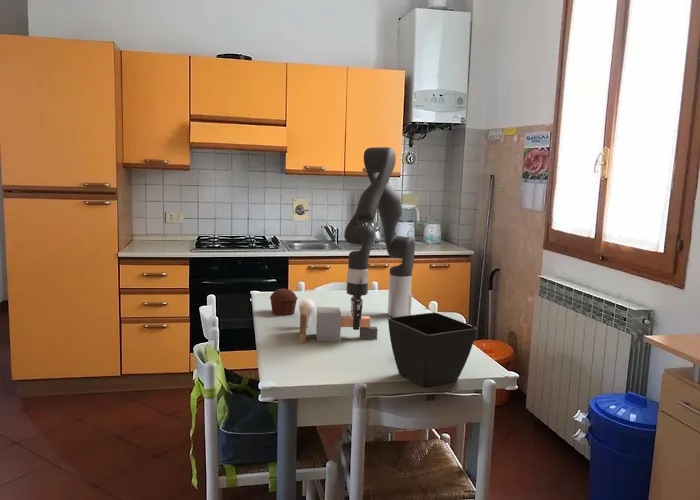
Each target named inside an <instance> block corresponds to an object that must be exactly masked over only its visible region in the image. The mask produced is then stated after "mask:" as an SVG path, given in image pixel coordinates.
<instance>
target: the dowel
mask: <svg viewBox="0 0 700 500" xmlns="http://www.w3.org/2000/svg"><path fill="white" fill-rule="evenodd" d="M360 327H371V317H370V316H367V315H365V316H364V315H361V319H360V325H359V328H360ZM341 328H353V316H352V315H341Z"/></svg>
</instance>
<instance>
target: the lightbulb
mask: <svg viewBox="0 0 700 500" xmlns="http://www.w3.org/2000/svg"><path fill="white" fill-rule="evenodd" d="M300 305H306V311H307V322H306V328H308V327H310V325H311V324H310V323H311V319H312V315H313V313H314V312H315V309H316V303H315V302H314V301H313V300H312V299H310V298H303V299H302V300H301V301H299V303H298V310H299V311H300Z"/></svg>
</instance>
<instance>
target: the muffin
mask: <svg viewBox="0 0 700 500" xmlns="http://www.w3.org/2000/svg"><path fill="white" fill-rule="evenodd" d="M269 298H270V304H271V313H272V314H273V315H274V316H281V317H288V316H293V315H294V314H295V310H296V307H297V301H298V297H297V295H296V294H295V292H294V291H292V290H291V289H288V288H278V289H276V290H274V291H273V292H272V293H271V295H270V297H269Z"/></svg>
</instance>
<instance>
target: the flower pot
mask: <svg viewBox="0 0 700 500" xmlns="http://www.w3.org/2000/svg"><path fill="white" fill-rule="evenodd" d="M387 322H388V332H389V338H390V343H391V344H390V345H391V349H392V354H393V358H394V362H395V364H396V368H397V372H398V374H399V375H401V376H403V377H405V378H407V379H408V380H410V381H413V382H414V383H416V384H418V385H420V386H421V387H425V388H428V387H434V386H439V385H443V384H448V383H454V382H457V381H458V380H459V378H460V376H461V373H462V372H463V369H464V368H465V366H466V363H467V360H468V358H469V356H470V353H471V351H472V348H473V345H474V342H475V338H476V335H477V331H478V327H476V326H474V325H470V324H469V323H465V322H463V321H461V320H458V319H456V318H452V317H449V316H447V315H443V314H441V313H437V312H427V313H425V312H424V313H418V314H416V313H415V314H411V315H408V316H399V317H391V316H390V317H388V318H387Z"/></svg>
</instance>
